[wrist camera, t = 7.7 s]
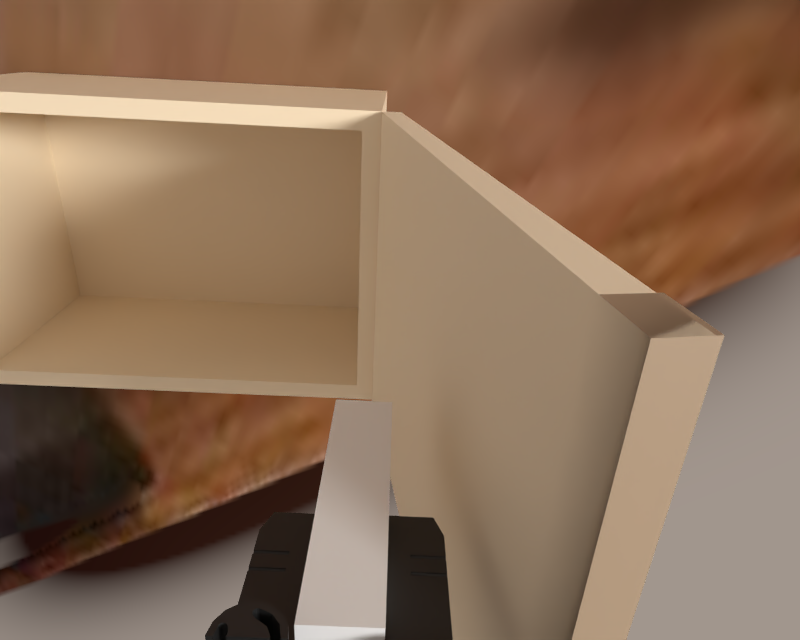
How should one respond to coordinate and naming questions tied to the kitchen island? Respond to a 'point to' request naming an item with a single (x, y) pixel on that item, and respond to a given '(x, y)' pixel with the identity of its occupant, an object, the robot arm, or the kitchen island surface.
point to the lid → (525, 397)
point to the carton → (188, 235)
